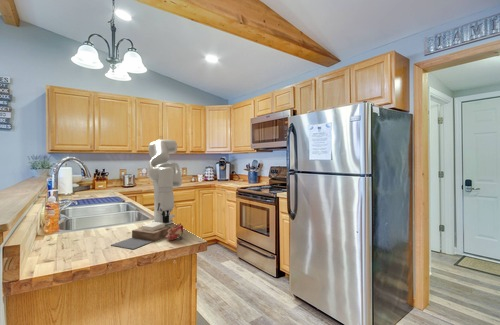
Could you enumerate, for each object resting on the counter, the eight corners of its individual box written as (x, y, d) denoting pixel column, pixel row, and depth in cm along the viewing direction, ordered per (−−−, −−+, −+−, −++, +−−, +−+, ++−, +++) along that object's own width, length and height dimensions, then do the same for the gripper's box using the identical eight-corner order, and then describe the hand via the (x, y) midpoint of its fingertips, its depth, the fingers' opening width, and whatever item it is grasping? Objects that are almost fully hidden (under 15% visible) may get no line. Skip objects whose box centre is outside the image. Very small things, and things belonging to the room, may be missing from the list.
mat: (131, 238, 130) (131, 237, 130) (152, 241, 125) (152, 241, 125) (110, 245, 119) (110, 244, 119) (133, 249, 114) (133, 248, 114)
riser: (150, 231, 142) (150, 224, 142) (171, 234, 137) (171, 226, 137) (132, 238, 130) (131, 230, 130) (153, 241, 125) (153, 233, 125)
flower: (187, 232, 134) (178, 220, 134) (189, 233, 126) (179, 221, 125) (172, 245, 130) (162, 233, 130) (173, 247, 122) (162, 234, 121)
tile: (154, 225, 140) (154, 221, 140) (164, 226, 137) (164, 223, 137) (141, 229, 132) (141, 225, 132) (152, 231, 129) (152, 227, 129)
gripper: (169, 188, 151) (169, 219, 152) (150, 191, 138) (150, 225, 138) (179, 188, 148) (179, 220, 149) (161, 191, 135) (161, 226, 135)
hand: (165, 222), depth 143 cm, fingers closed
